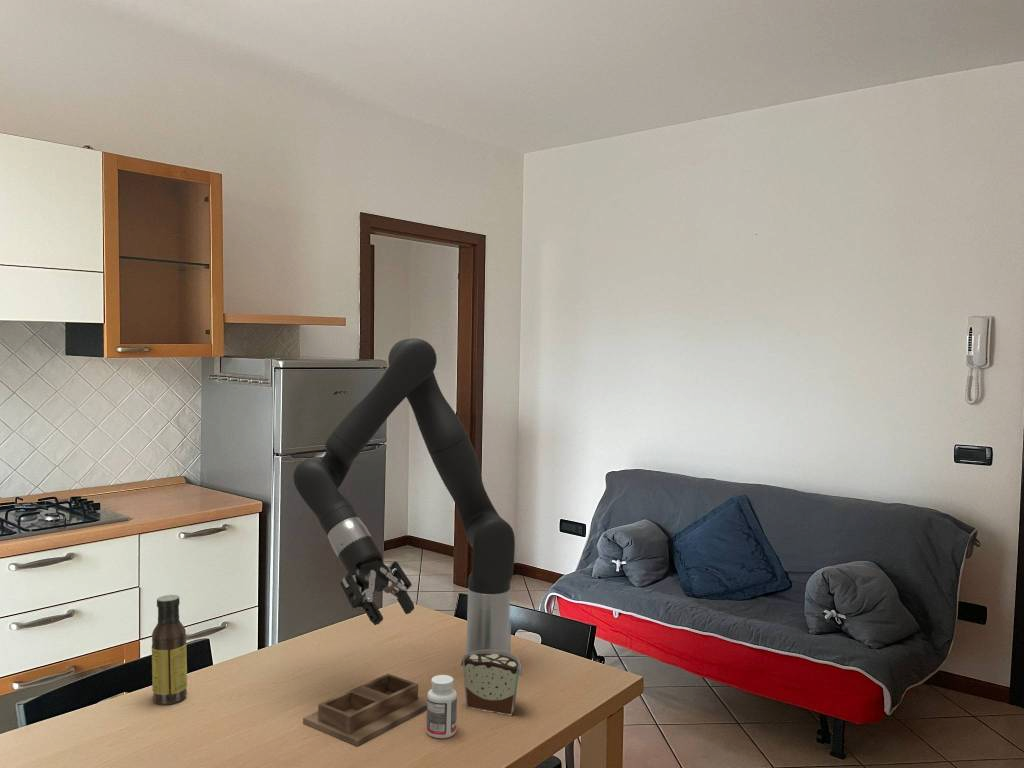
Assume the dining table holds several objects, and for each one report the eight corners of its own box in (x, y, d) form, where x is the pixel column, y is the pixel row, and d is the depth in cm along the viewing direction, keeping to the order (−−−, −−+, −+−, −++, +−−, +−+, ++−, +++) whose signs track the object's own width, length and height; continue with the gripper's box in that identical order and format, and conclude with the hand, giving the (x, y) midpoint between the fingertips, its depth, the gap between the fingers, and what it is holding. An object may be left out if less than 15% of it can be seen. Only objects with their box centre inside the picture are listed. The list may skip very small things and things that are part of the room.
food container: (529, 704, 158) (530, 654, 158) (519, 717, 152) (520, 665, 152) (471, 694, 162) (472, 645, 162) (459, 706, 156) (460, 655, 156)
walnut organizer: (379, 687, 164) (380, 668, 163) (432, 706, 156) (433, 686, 156) (302, 723, 147) (303, 701, 147) (357, 746, 139) (357, 723, 139)
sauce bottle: (187, 690, 160) (188, 591, 159) (186, 703, 154) (187, 600, 153) (152, 694, 158) (153, 593, 157) (149, 707, 152) (151, 603, 151)
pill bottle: (445, 722, 149) (446, 670, 149) (462, 733, 145) (463, 680, 145) (420, 730, 146) (421, 677, 145) (437, 742, 142) (438, 687, 141)
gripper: (337, 540, 150) (379, 615, 144) (390, 529, 162) (431, 597, 156) (316, 563, 153) (357, 637, 147) (370, 551, 165) (409, 618, 159)
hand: (395, 616), depth 151 cm, fingers open, 8 cm apart
